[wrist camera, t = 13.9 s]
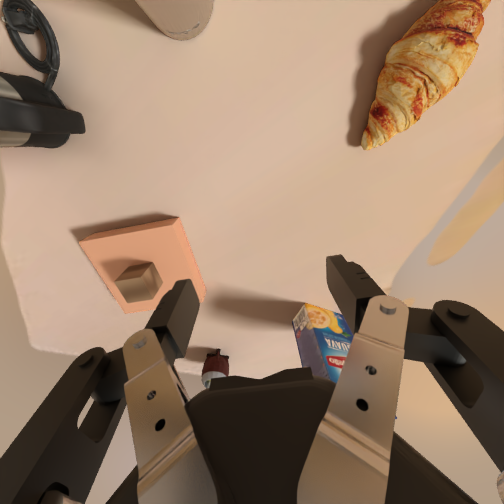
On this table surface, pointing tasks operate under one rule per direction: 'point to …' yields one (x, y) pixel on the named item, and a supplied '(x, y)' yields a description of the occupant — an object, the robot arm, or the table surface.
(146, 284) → the walnut cube
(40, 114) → the milk frother
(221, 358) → the mate gourd
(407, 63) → the croissant
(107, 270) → the terracotta base
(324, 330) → the beverage box
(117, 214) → the table surface
